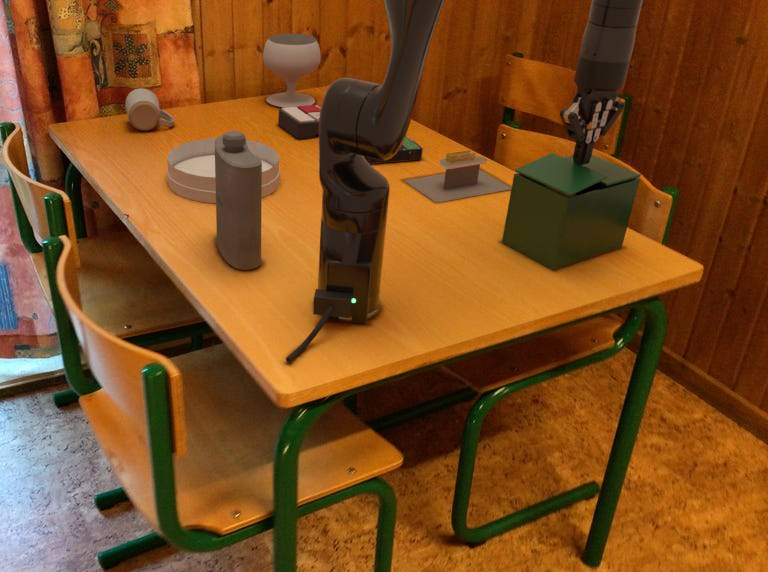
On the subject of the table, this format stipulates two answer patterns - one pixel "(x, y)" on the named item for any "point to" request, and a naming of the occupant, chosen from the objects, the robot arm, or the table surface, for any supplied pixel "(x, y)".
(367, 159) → the disk drive
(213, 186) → the dish
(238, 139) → the flask
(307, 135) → the dark box with panels
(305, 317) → the table surface
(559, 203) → the green flap box
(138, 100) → the ceramic mug
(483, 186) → the platform
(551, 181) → the green box lid flap
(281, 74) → the chalice
